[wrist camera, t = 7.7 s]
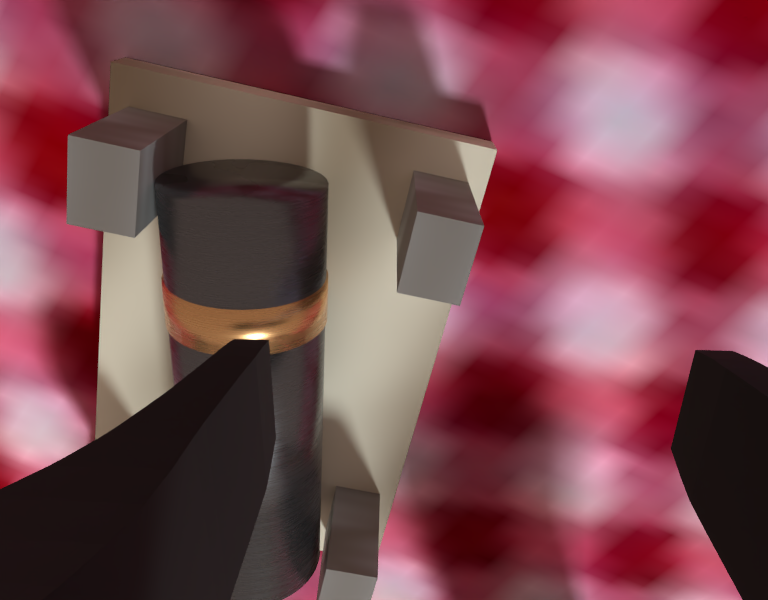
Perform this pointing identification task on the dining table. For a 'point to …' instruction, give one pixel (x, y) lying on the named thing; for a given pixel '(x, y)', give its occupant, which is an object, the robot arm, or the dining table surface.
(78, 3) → the dining table surface
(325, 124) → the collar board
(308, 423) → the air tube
